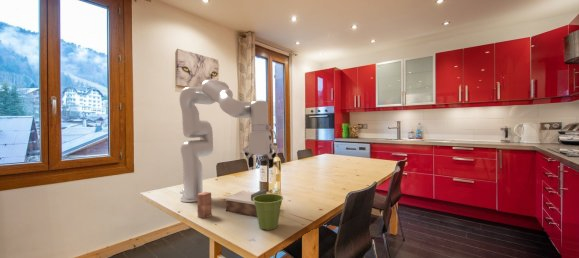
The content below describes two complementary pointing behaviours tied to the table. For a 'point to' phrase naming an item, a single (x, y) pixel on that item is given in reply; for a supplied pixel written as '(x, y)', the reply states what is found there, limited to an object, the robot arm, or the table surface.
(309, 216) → the table surface
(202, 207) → the salmon orange block
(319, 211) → the table surface
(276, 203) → the plant pot
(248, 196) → the toolbox lid
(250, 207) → the toolbox
